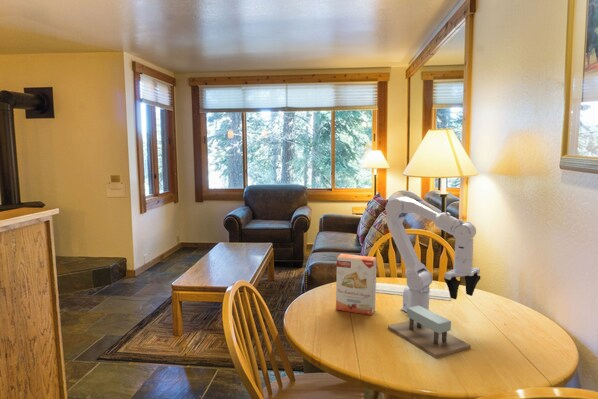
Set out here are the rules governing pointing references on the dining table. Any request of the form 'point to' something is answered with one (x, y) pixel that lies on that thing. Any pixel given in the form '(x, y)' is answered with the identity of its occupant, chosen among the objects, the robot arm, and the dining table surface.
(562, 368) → the dining table surface
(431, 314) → the pale grey block
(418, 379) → the dining table surface
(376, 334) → the dining table surface
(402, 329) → the brown slab
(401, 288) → the baseboard molding
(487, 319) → the dining table surface
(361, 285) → the cracker box
